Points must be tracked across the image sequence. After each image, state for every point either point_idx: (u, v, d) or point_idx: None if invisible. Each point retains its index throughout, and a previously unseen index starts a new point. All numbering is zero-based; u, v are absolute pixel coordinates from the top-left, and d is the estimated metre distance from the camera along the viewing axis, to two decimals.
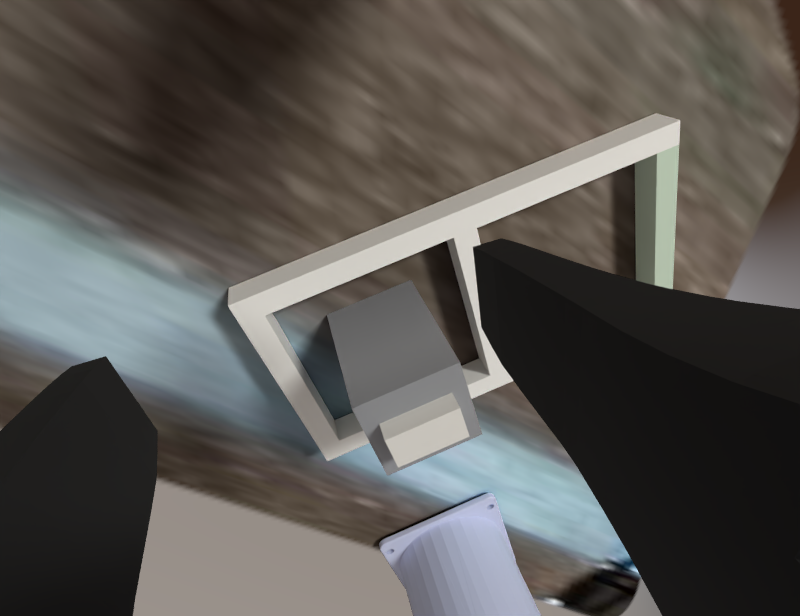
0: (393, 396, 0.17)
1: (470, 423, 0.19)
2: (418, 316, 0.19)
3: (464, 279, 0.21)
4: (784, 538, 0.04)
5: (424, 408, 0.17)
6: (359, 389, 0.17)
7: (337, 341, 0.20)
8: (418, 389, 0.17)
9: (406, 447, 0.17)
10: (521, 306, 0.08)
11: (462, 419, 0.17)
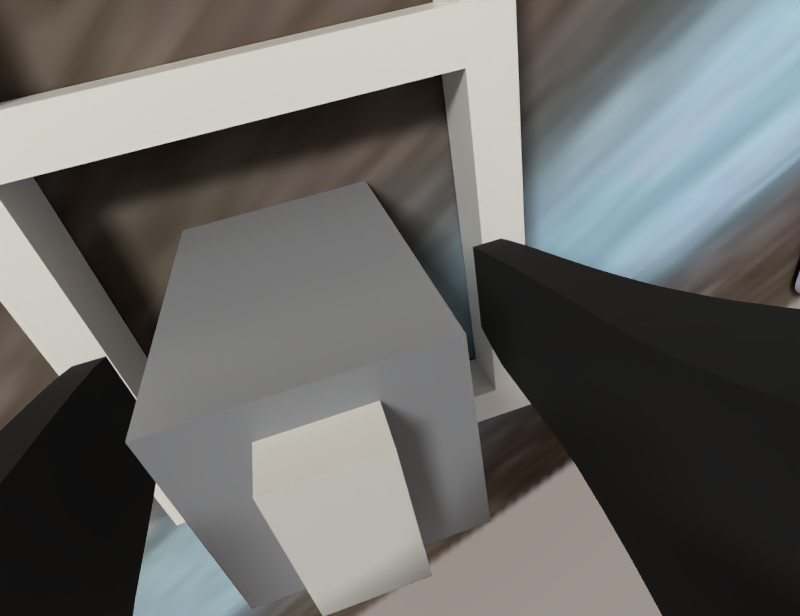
0: (233, 555, 0.07)
1: (404, 374, 0.06)
2: None
3: (130, 150, 0.08)
4: (784, 538, 0.04)
5: None
6: None
7: None
8: (219, 515, 0.06)
9: (367, 576, 0.07)
10: (521, 307, 0.08)
11: (308, 482, 0.05)
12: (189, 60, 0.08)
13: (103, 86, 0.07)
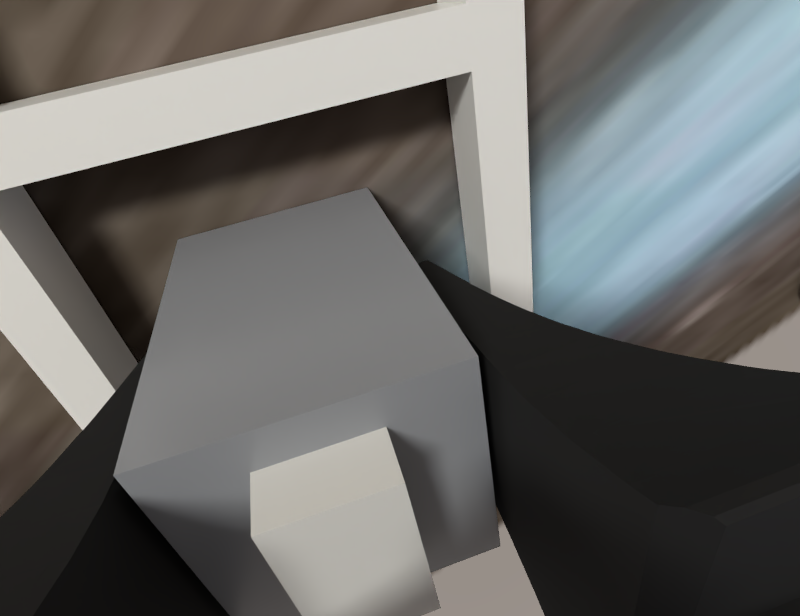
0: (230, 588, 0.06)
1: (411, 399, 0.06)
2: None
3: (122, 157, 0.08)
4: (623, 604, 0.04)
5: None
6: None
7: None
8: (215, 547, 0.06)
9: (373, 611, 0.06)
10: None
11: (311, 519, 0.05)
12: (184, 63, 0.08)
13: (93, 91, 0.07)
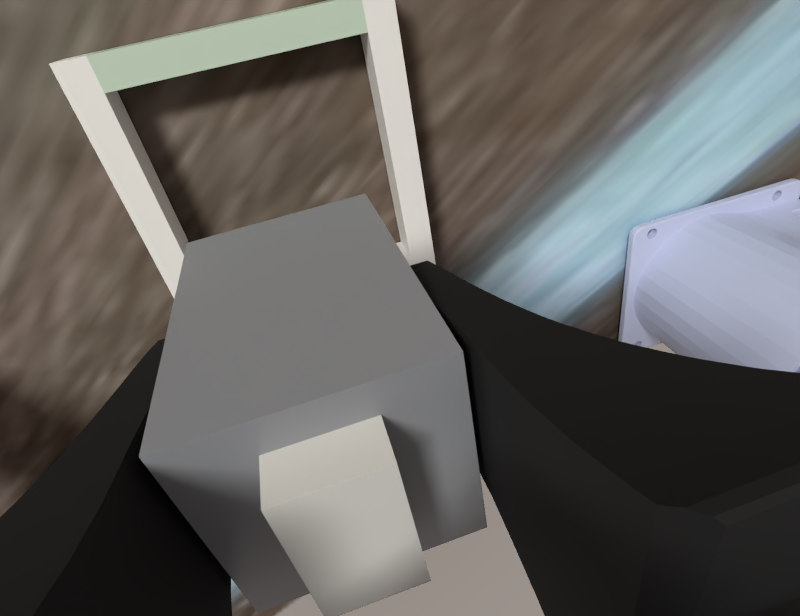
0: (239, 562, 0.07)
1: (404, 390, 0.06)
2: None
3: None
4: (623, 603, 0.04)
5: None
6: None
7: None
8: (227, 525, 0.07)
9: (369, 582, 0.07)
10: None
11: (314, 495, 0.06)
12: None
13: None
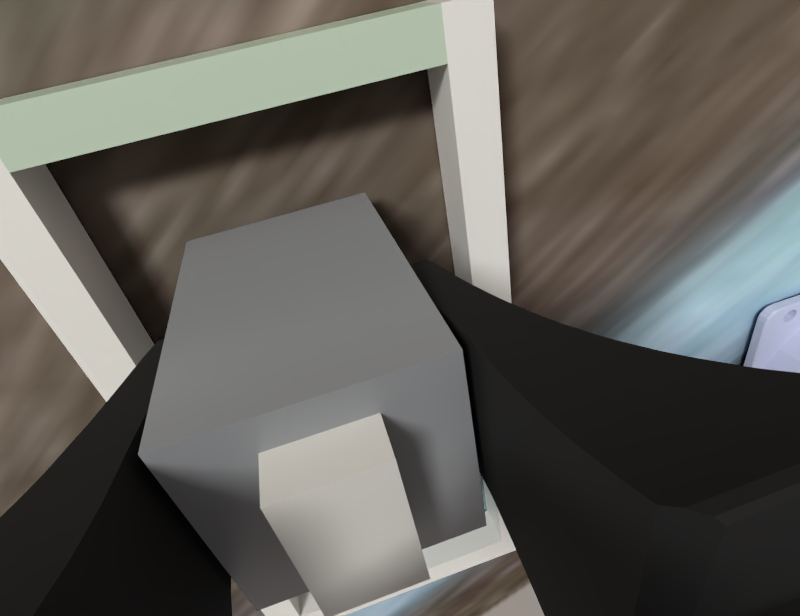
0: (239, 561, 0.07)
1: (403, 387, 0.06)
2: None
3: None
4: (623, 604, 0.04)
5: None
6: None
7: None
8: (226, 522, 0.07)
9: (368, 580, 0.07)
10: None
11: (313, 492, 0.06)
12: None
13: None
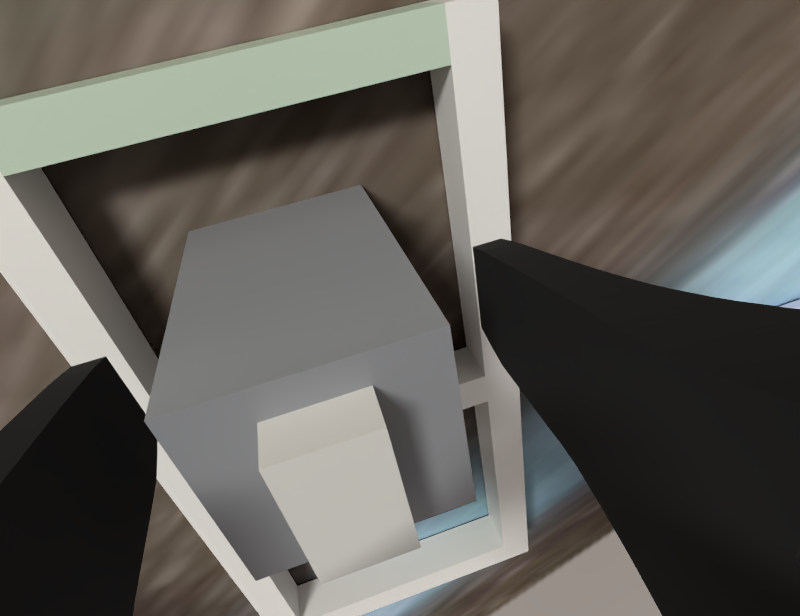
0: (239, 529, 0.07)
1: (394, 361, 0.07)
2: None
3: None
4: (784, 538, 0.04)
5: None
6: None
7: None
8: (226, 490, 0.07)
9: (362, 546, 0.07)
10: (521, 306, 0.08)
11: (308, 456, 0.06)
12: None
13: None
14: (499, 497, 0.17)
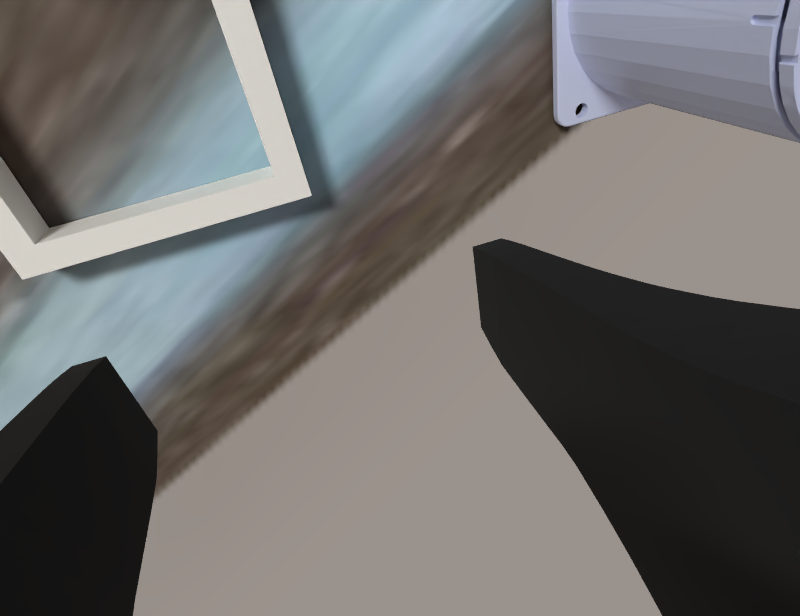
0: None
1: None
2: None
3: None
4: (784, 538, 0.04)
5: None
6: None
7: None
8: None
9: None
10: (521, 307, 0.08)
11: None
12: None
13: None
14: (239, 75, 0.15)
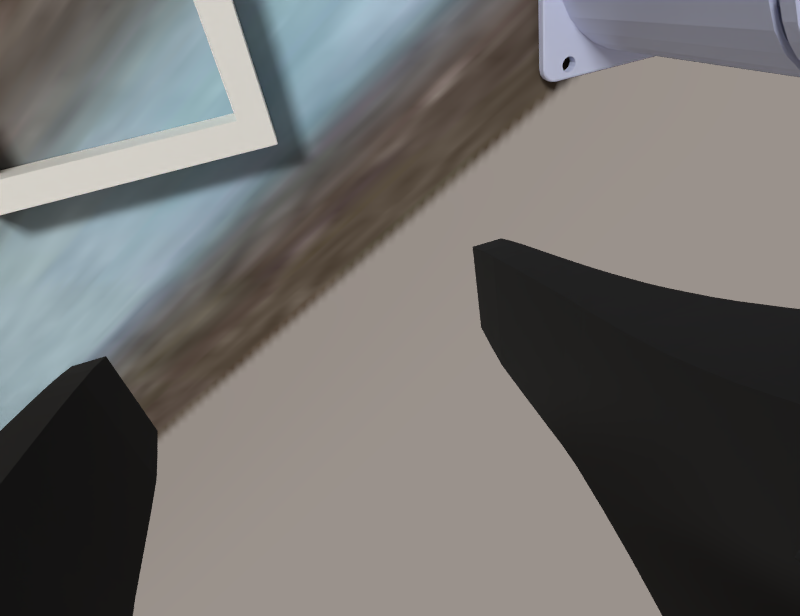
0: None
1: None
2: None
3: None
4: (784, 538, 0.04)
5: None
6: None
7: None
8: None
9: None
10: (521, 307, 0.08)
11: None
12: None
13: None
14: (195, 2, 0.14)
